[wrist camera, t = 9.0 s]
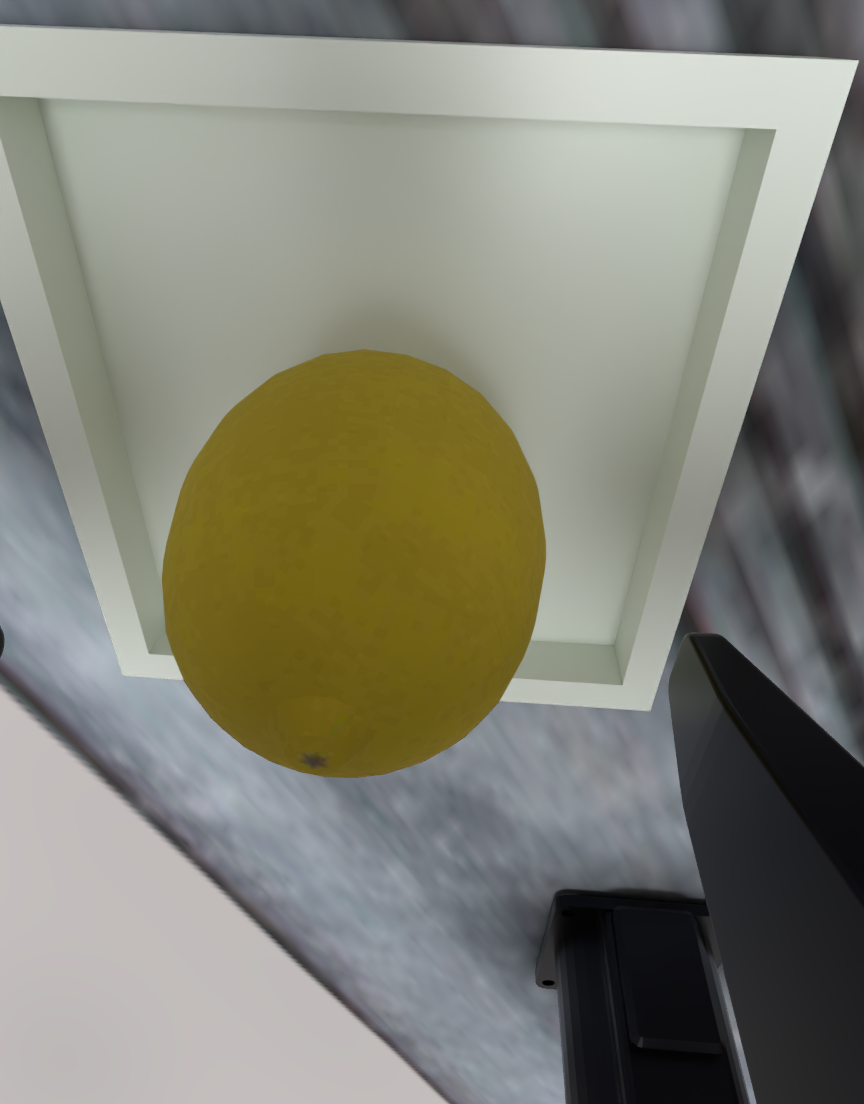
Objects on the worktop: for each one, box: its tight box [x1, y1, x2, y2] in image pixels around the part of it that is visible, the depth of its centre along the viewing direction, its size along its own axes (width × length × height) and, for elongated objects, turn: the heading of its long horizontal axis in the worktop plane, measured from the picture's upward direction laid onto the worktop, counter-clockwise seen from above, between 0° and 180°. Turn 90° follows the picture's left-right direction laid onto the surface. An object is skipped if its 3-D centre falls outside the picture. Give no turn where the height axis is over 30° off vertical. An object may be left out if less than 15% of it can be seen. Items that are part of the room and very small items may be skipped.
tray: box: [0, 24, 859, 711], centre depth 14 cm, size 13×13×2 cm
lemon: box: [162, 349, 546, 778], centre depth 11 cm, size 6×6×8 cm
